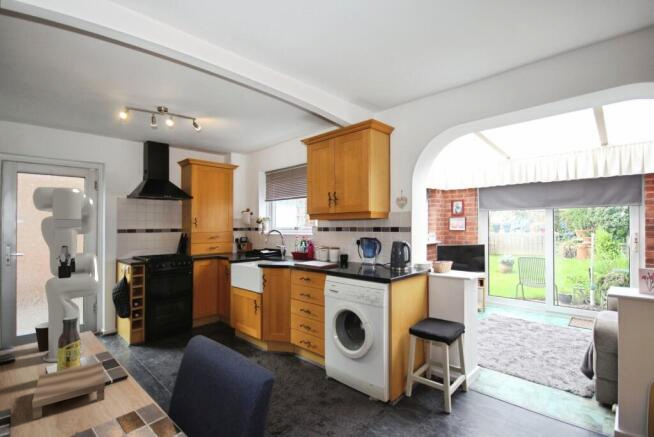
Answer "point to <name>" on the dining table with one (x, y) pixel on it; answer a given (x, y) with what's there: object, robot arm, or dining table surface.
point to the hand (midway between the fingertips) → (67, 275)
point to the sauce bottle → (69, 345)
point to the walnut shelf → (68, 385)
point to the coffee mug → (42, 337)
